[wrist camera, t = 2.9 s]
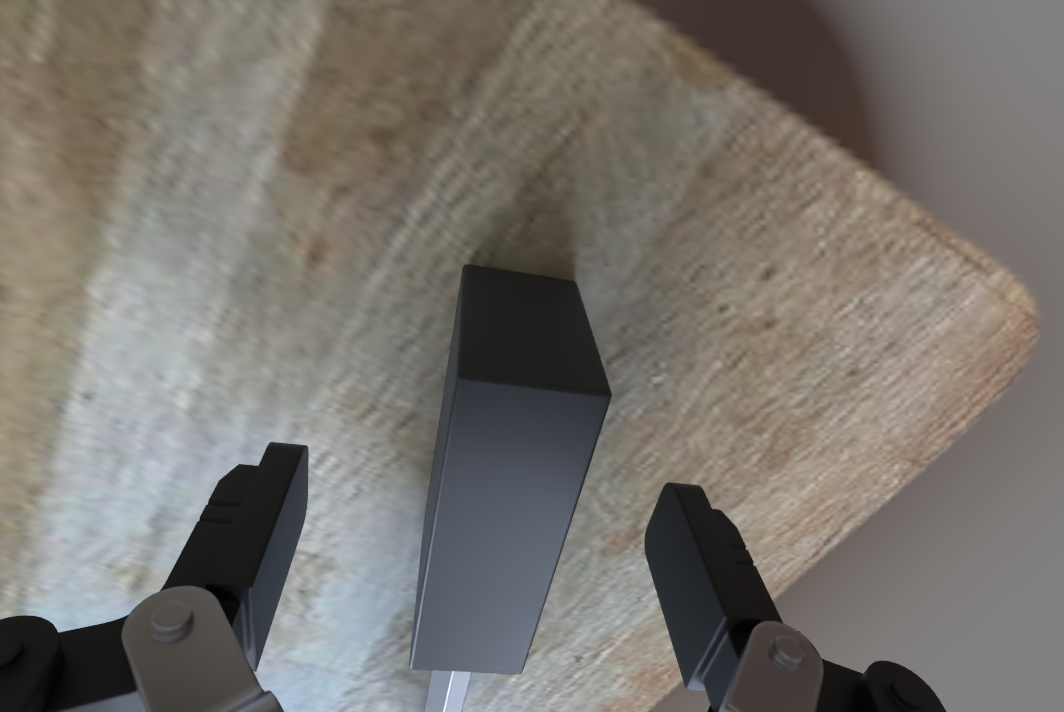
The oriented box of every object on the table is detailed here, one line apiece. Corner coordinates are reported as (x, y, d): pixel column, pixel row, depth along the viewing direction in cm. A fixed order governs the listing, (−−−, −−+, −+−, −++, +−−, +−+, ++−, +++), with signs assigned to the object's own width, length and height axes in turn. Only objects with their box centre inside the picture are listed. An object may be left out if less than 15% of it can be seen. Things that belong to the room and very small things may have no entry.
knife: (463, 262, 13) (455, 374, 10) (577, 280, 14) (614, 394, 10) (392, 726, 23) (375, 875, 19) (461, 728, 23) (458, 874, 20)
